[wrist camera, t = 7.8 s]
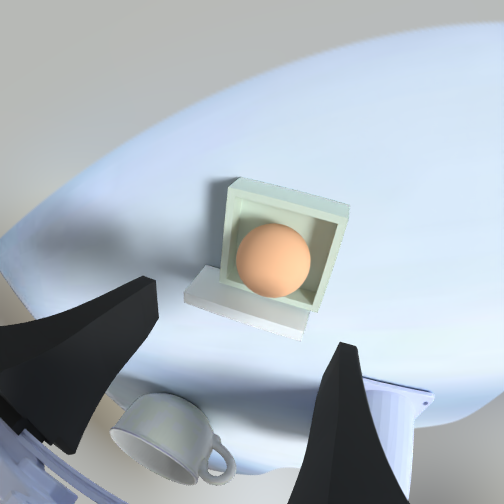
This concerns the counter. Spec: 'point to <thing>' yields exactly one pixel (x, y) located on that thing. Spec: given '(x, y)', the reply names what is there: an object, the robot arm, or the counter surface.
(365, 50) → the counter surface
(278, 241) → the ball
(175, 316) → the counter surface
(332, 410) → the robot arm
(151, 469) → the teacup
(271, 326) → the wall
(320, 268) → the tray
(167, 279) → the counter surface
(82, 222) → the counter surface
